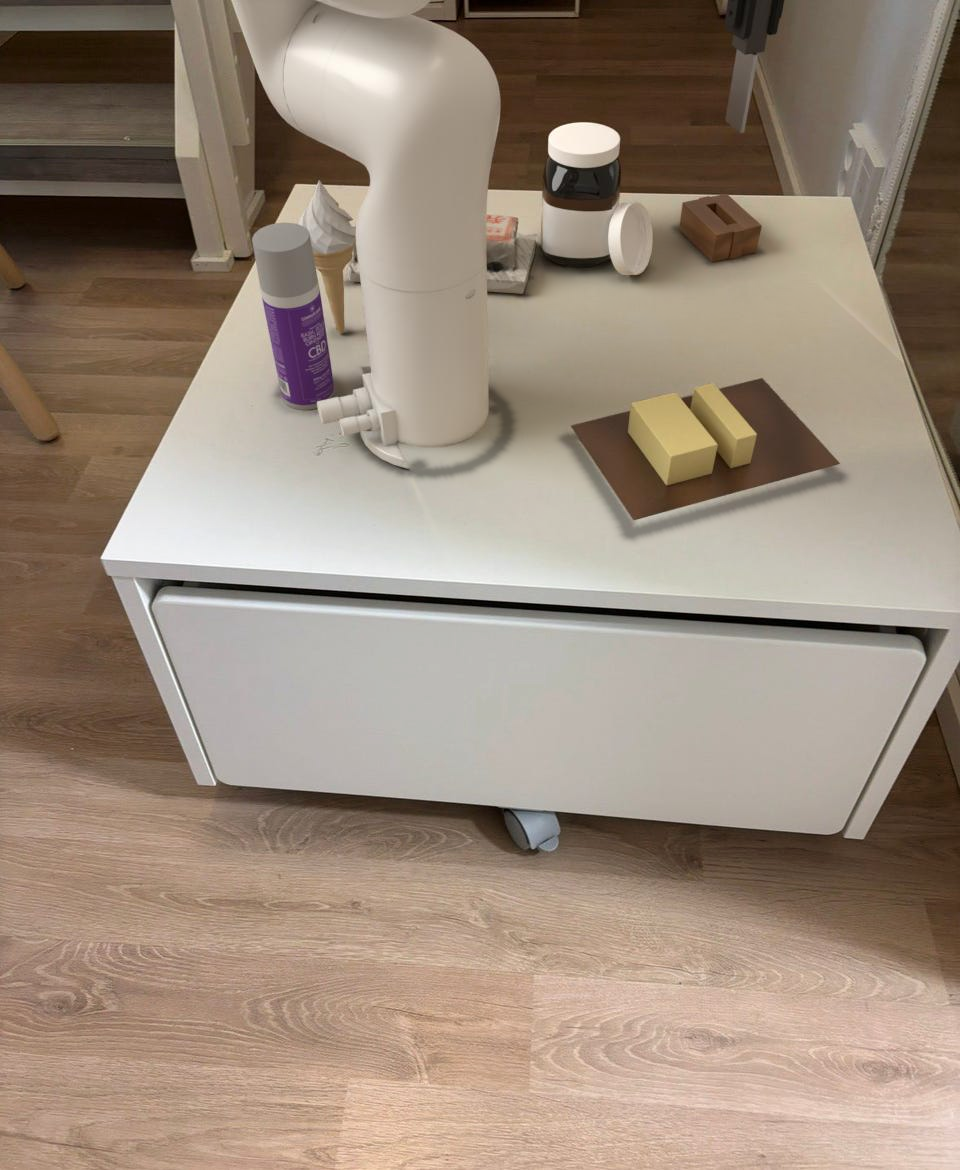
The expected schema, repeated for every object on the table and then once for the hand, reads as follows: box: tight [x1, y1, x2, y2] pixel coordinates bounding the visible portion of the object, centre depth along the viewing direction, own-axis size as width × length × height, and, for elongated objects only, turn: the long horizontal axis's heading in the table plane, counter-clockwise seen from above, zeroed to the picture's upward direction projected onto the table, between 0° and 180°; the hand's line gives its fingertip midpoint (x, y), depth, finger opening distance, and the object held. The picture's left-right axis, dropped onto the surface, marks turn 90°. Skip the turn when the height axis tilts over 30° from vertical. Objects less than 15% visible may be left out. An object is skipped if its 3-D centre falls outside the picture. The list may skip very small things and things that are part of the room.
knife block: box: [678, 193, 763, 263], centre depth 106 cm, size 5×8×3 cm
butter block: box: [628, 391, 718, 485], centre depth 81 cm, size 4×7×3 cm, turn 20°
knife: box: [725, 0, 773, 134], centre depth 92 cm, size 2×3×14 cm, turn 20°
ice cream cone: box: [296, 179, 356, 335], centre depth 91 cm, size 6×6×15 cm
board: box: [570, 377, 841, 521], centre depth 83 cm, size 18×12×2 cm, turn 110°
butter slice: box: [690, 382, 757, 468], centre depth 82 cm, size 2×7×3 cm, turn 20°
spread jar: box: [540, 121, 654, 276], centre depth 101 cm, size 12×11×12 cm
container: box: [251, 222, 336, 411], centre depth 85 cm, size 5×5×15 cm
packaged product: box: [346, 213, 538, 295], centre depth 103 cm, size 18×5×10 cm
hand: (751, 30), depth 91 cm, fingers closed on knife, 2 cm apart
